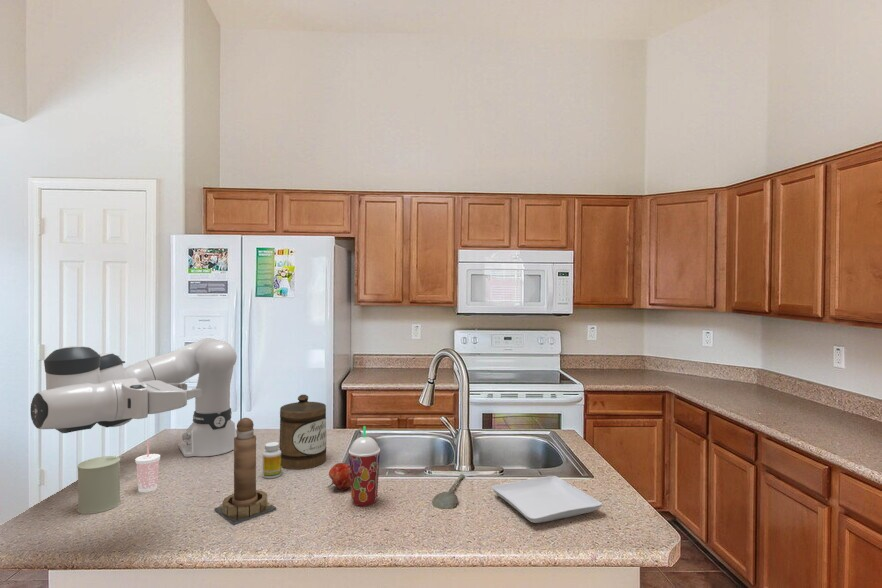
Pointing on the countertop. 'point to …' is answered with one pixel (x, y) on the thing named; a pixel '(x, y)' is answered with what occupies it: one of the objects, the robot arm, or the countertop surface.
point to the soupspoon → (447, 497)
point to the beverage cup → (147, 471)
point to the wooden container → (302, 434)
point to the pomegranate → (340, 475)
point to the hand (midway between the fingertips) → (193, 389)
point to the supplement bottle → (271, 460)
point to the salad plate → (546, 498)
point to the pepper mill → (245, 464)
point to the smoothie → (364, 470)
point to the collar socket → (244, 509)
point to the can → (98, 484)
